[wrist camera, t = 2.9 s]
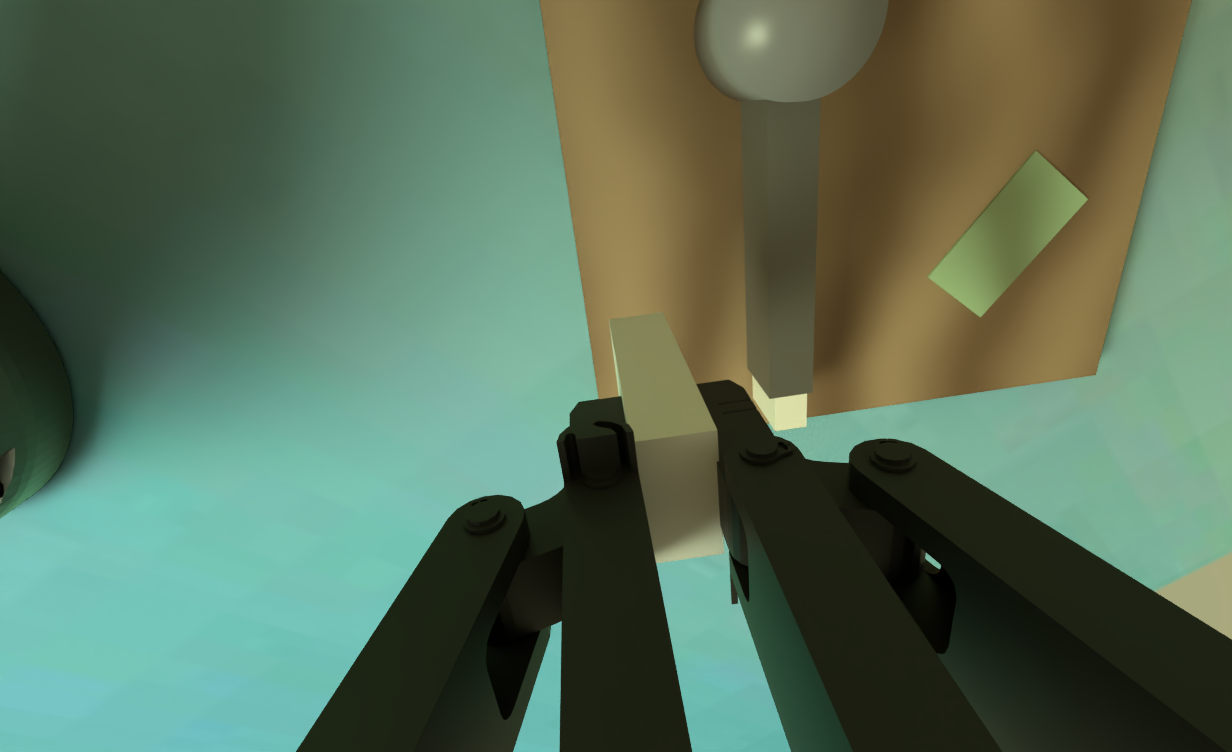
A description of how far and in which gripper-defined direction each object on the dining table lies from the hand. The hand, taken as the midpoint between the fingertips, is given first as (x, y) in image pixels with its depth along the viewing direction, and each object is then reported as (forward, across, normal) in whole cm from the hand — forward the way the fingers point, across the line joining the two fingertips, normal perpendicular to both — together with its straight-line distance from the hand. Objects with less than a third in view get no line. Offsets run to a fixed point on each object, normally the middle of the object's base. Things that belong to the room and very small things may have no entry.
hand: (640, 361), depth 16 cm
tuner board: (+8, +10, +2) cm, 13 cm away
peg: (+7, +6, +3) cm, 9 cm away
